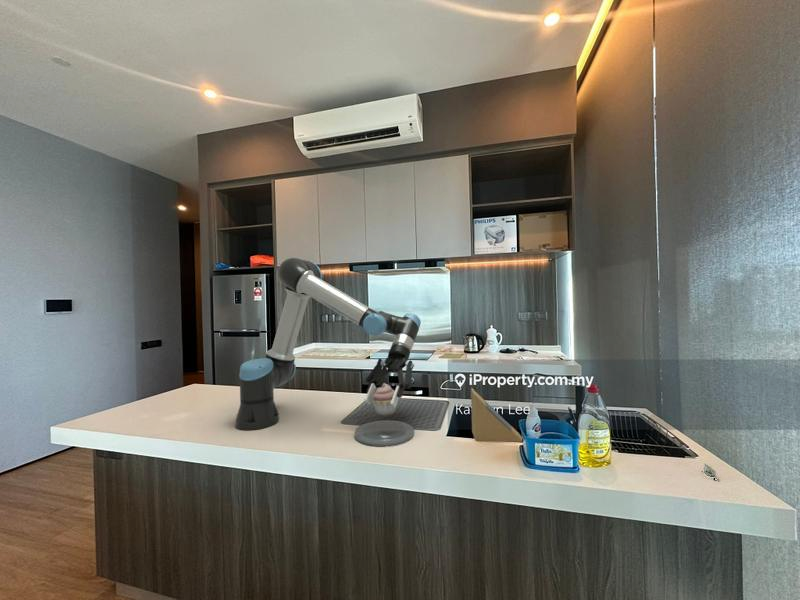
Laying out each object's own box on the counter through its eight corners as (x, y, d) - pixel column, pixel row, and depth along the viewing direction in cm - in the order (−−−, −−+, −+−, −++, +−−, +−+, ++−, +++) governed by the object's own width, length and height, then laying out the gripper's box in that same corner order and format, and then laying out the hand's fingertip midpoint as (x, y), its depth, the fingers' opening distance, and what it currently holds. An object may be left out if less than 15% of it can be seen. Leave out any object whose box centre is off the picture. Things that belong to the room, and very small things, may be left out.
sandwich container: (525, 442, 105) (524, 394, 105) (475, 442, 106) (474, 394, 106) (518, 432, 114) (517, 387, 114) (471, 431, 115) (470, 387, 115)
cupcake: (366, 412, 115) (365, 382, 115) (389, 406, 120) (388, 378, 120) (380, 419, 107) (379, 387, 108) (404, 413, 113) (403, 383, 113)
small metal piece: (693, 471, 86) (693, 459, 86) (705, 472, 85) (704, 460, 85) (707, 482, 80) (706, 469, 80) (719, 484, 80) (718, 471, 80)
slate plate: (342, 435, 113) (342, 431, 113) (384, 419, 128) (384, 416, 128) (383, 452, 100) (383, 448, 100) (426, 432, 114) (426, 428, 114)
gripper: (431, 356, 123) (413, 413, 108) (379, 354, 133) (357, 405, 119) (424, 343, 118) (405, 401, 104) (371, 342, 128) (347, 394, 114)
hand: (379, 403), depth 111 cm, fingers closed on cupcake, 9 cm apart
